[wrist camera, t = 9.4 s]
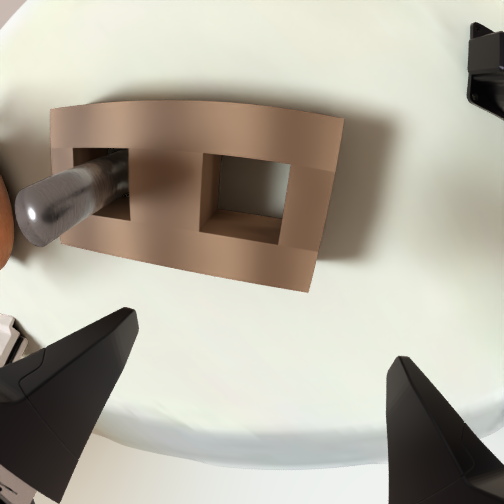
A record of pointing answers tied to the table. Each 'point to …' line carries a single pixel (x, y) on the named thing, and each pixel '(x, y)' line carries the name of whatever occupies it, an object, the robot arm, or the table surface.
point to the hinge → (10, 341)
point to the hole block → (203, 185)
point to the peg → (71, 197)
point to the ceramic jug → (5, 225)
